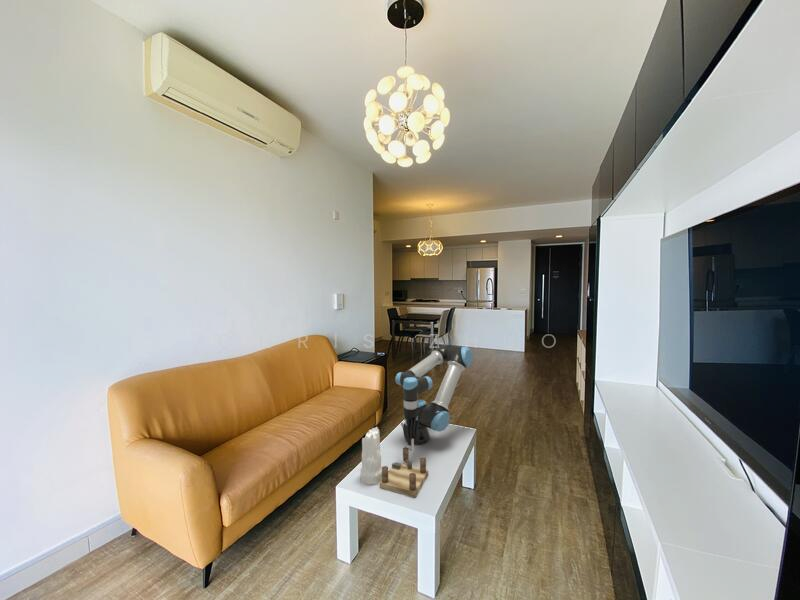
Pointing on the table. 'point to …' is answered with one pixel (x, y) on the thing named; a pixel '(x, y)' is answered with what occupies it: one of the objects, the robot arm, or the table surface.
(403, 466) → the stool seat
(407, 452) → the hinged leg
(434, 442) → the table surface
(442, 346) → the robot arm
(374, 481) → the white tall rough piece
